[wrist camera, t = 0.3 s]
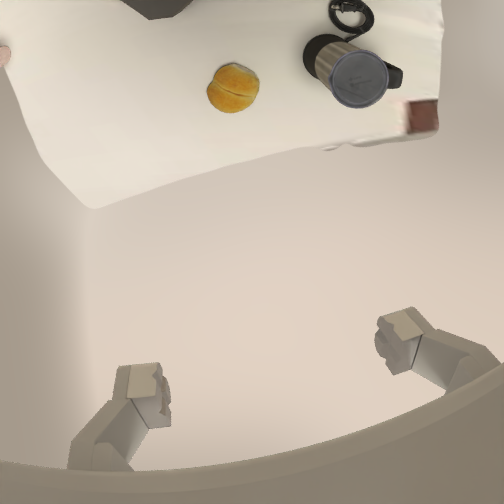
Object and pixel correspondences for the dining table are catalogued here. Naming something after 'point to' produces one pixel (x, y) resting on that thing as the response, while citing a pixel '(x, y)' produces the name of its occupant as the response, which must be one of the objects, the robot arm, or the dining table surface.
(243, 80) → the bread roll
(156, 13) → the liquor
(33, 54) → the dining table surface
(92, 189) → the dining table surface
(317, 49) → the milk frother
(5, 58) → the smoothie
